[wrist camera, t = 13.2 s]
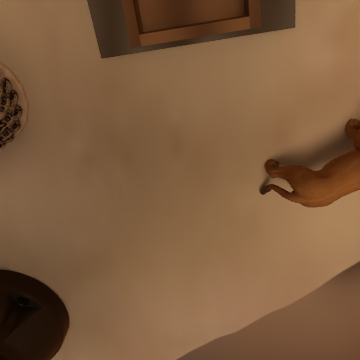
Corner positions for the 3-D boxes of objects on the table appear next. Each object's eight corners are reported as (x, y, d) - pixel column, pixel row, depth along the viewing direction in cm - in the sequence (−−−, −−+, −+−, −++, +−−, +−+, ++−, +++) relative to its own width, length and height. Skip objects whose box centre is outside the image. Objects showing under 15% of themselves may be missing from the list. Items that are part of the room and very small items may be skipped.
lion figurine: (388, 79, 29) (461, 108, 22) (412, 126, 31) (488, 168, 23) (246, 172, 34) (262, 225, 26) (274, 208, 36) (298, 267, 28)
